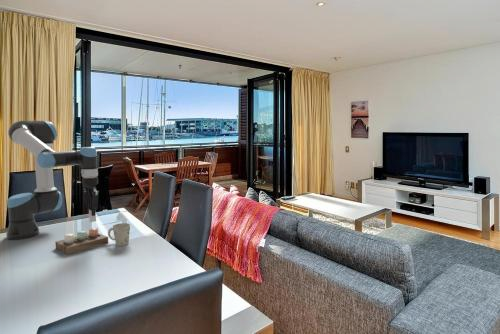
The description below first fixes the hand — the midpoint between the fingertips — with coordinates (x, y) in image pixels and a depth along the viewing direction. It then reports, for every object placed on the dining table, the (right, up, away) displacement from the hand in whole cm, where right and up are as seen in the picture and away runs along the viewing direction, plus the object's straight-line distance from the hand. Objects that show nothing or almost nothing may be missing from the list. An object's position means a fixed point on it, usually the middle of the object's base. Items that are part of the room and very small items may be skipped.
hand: (92, 221), depth 168 cm
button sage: (-4, -9, -4) cm, 10 cm away
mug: (+14, -12, -1) cm, 18 cm away
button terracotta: (0, -8, +1) cm, 8 cm away
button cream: (-7, -9, -8) cm, 14 cm away
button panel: (-4, -12, -3) cm, 13 cm away
